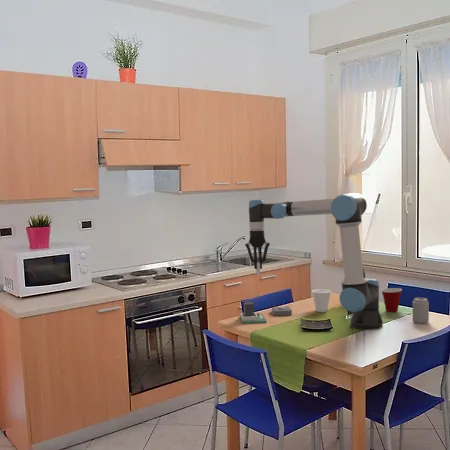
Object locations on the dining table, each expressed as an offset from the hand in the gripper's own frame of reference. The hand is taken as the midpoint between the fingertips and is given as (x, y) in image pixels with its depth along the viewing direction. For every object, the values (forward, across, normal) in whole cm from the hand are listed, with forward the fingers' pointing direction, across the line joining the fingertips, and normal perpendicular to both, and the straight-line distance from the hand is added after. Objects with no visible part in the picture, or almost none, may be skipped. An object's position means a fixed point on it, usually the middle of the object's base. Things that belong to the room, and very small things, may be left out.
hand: (258, 275), depth 280 cm
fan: (+23, -13, -7) cm, 27 cm away
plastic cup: (+24, -71, +1) cm, 75 cm away
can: (+24, -76, +24) cm, 83 cm away
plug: (+22, +6, +4) cm, 23 cm away
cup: (+23, -35, -7) cm, 43 cm away
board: (+23, +4, +3) cm, 23 cm away
